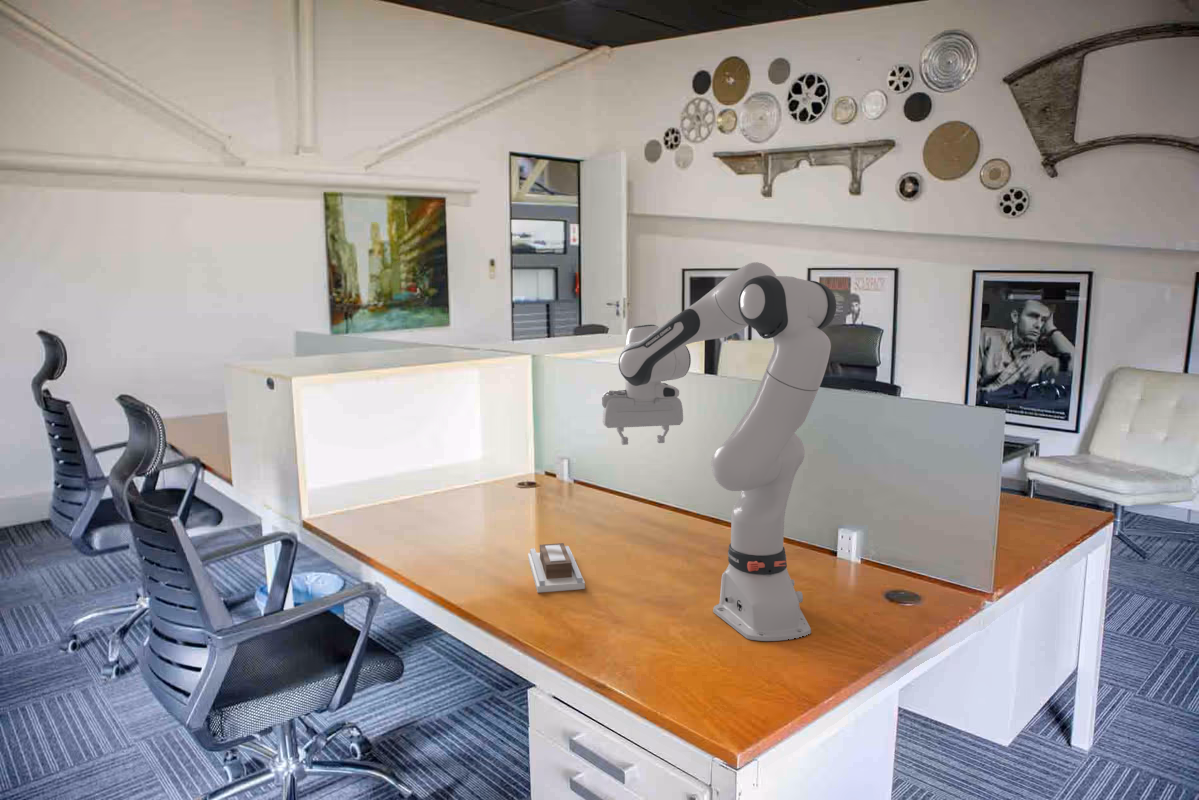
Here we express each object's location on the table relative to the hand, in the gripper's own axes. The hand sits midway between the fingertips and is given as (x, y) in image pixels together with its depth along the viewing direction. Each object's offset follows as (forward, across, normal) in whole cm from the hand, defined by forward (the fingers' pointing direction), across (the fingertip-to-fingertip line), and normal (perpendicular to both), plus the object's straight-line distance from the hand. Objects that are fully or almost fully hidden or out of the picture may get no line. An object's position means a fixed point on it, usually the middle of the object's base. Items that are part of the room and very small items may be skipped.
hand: (642, 443), depth 207 cm
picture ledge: (+29, -24, -9) cm, 39 cm away
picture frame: (+28, -24, -9) cm, 38 cm away
